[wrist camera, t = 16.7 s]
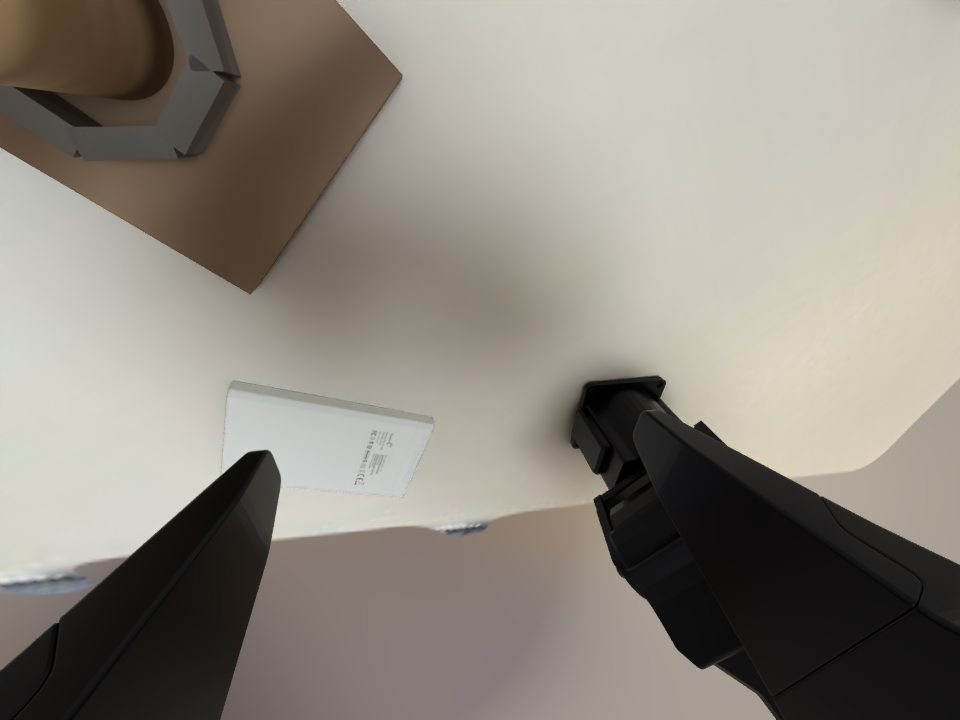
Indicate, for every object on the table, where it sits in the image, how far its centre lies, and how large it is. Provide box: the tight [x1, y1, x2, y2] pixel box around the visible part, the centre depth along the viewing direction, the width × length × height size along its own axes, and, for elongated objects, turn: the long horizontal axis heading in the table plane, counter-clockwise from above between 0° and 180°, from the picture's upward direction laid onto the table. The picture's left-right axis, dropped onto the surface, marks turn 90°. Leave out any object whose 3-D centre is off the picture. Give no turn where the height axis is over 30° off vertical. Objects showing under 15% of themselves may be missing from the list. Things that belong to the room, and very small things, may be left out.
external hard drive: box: [221, 381, 434, 498], centre depth 25 cm, size 2×8×12 cm
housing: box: [0, 0, 402, 294], centre depth 11 cm, size 16×12×2 cm
